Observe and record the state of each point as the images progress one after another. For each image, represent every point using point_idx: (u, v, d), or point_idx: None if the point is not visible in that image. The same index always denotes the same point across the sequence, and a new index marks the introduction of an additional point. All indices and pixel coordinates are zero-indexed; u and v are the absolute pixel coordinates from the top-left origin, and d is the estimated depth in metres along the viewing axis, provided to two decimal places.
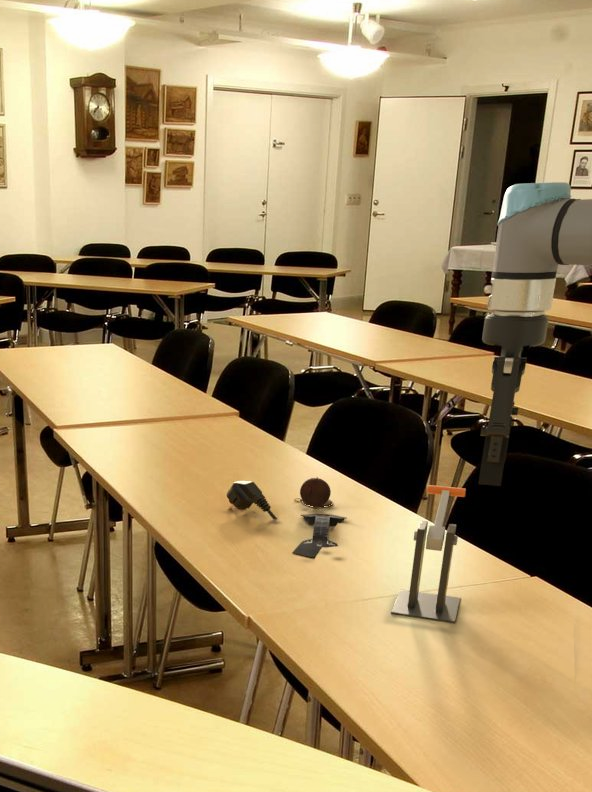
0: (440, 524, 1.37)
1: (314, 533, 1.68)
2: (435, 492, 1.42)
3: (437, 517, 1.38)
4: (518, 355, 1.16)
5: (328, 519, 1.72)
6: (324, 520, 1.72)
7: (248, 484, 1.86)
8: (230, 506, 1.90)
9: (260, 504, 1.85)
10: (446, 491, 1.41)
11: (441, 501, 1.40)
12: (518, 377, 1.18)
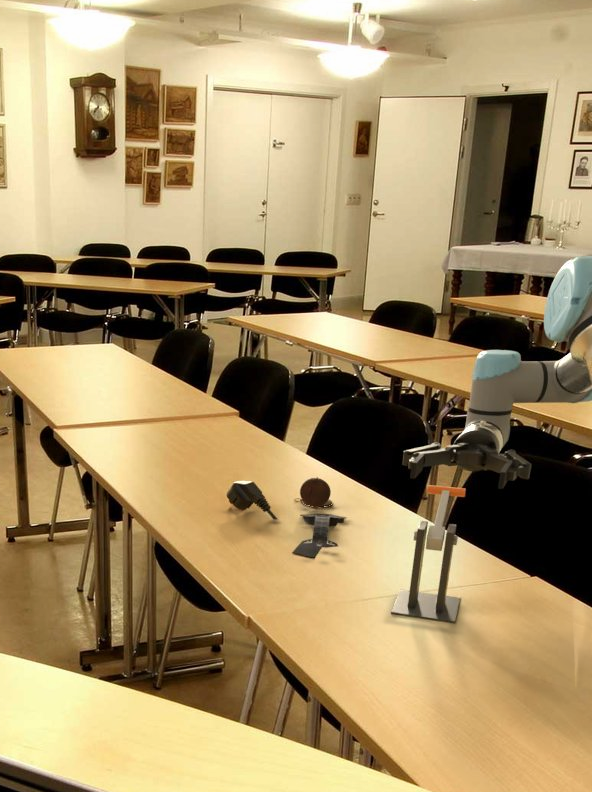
0: (440, 524, 1.37)
1: (314, 533, 1.68)
2: (435, 492, 1.42)
3: (437, 517, 1.38)
4: None
5: (328, 519, 1.72)
6: (323, 520, 1.72)
7: (248, 484, 1.86)
8: (230, 506, 1.90)
9: (260, 504, 1.85)
10: (446, 491, 1.41)
11: (441, 501, 1.40)
12: None
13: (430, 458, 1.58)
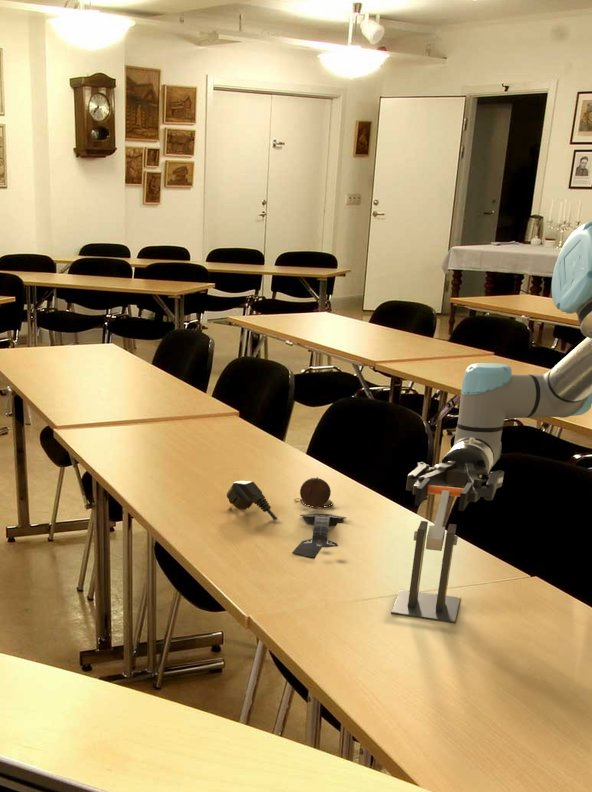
0: (440, 524, 1.37)
1: (314, 533, 1.68)
2: (435, 492, 1.42)
3: (437, 517, 1.38)
4: None
5: (328, 519, 1.72)
6: (323, 520, 1.72)
7: (248, 484, 1.86)
8: (230, 506, 1.90)
9: (260, 504, 1.85)
10: (446, 491, 1.41)
11: (441, 501, 1.40)
12: None
13: (432, 481, 1.47)
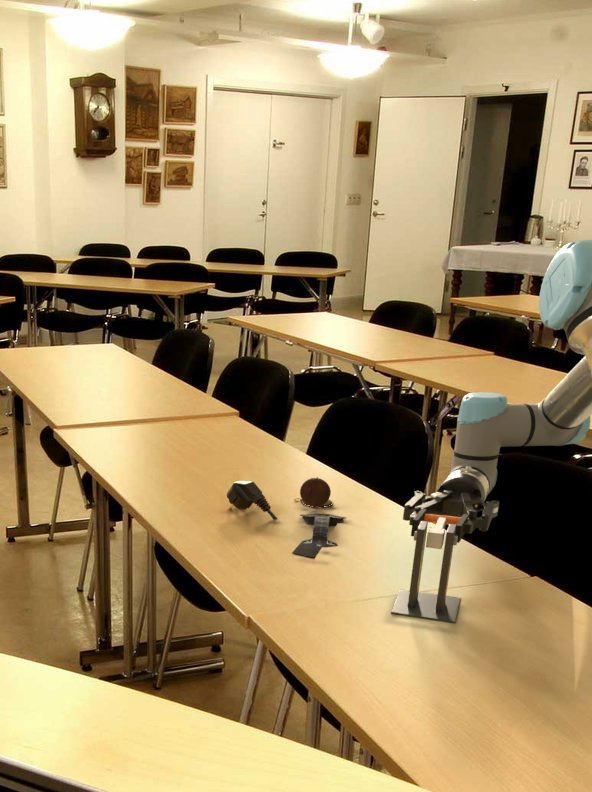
0: None
1: (314, 533, 1.68)
2: (432, 519, 1.45)
3: (436, 527, 1.39)
4: None
5: (328, 519, 1.72)
6: (323, 520, 1.72)
7: (248, 484, 1.86)
8: (230, 506, 1.90)
9: (260, 504, 1.85)
10: (442, 517, 1.44)
11: (439, 521, 1.42)
12: None
13: (428, 511, 1.49)
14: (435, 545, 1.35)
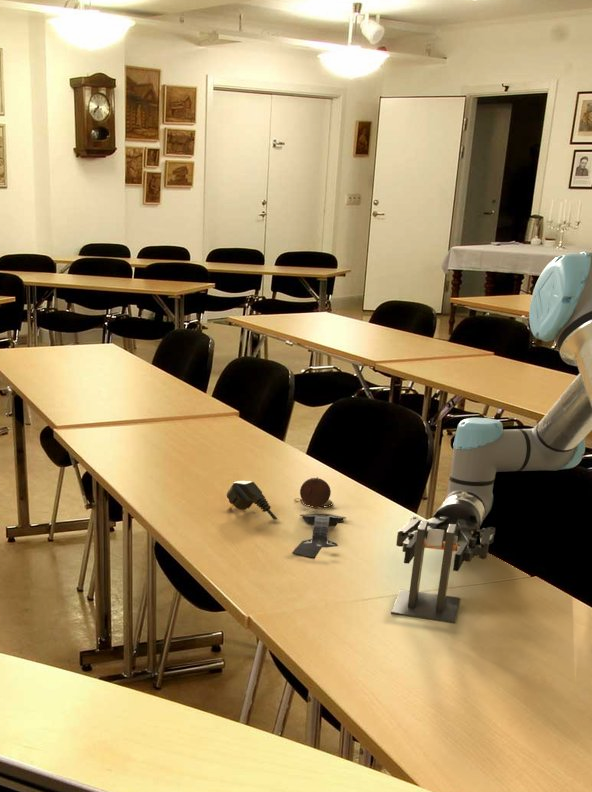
0: None
1: (314, 533, 1.68)
2: None
3: None
4: None
5: (328, 519, 1.72)
6: (323, 520, 1.72)
7: (248, 484, 1.86)
8: (230, 506, 1.90)
9: (260, 504, 1.85)
10: None
11: None
12: None
13: None
14: (435, 542, 1.34)
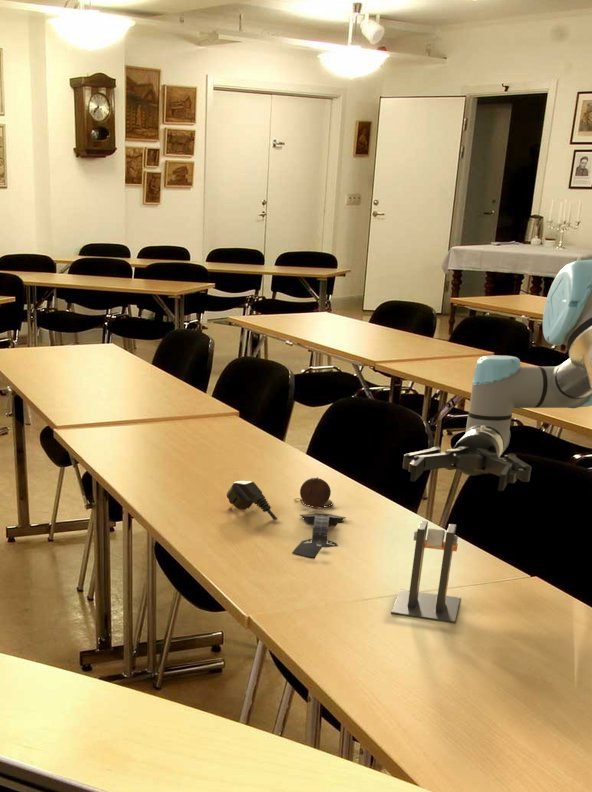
0: None
1: (314, 533, 1.68)
2: None
3: None
4: None
5: (327, 519, 1.72)
6: (323, 519, 1.72)
7: (248, 484, 1.86)
8: (230, 506, 1.90)
9: (260, 504, 1.85)
10: None
11: None
12: None
13: (430, 461, 1.58)
14: (435, 542, 1.34)
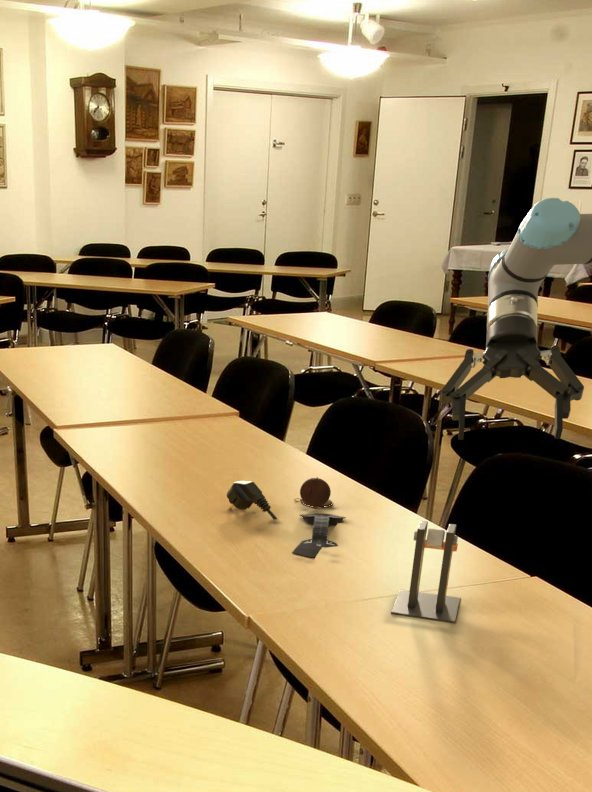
0: None
1: (314, 533, 1.68)
2: None
3: None
4: None
5: (327, 519, 1.72)
6: (323, 519, 1.72)
7: (248, 484, 1.86)
8: (230, 506, 1.90)
9: (260, 504, 1.85)
10: None
11: None
12: None
13: (470, 390, 1.46)
14: (435, 542, 1.34)
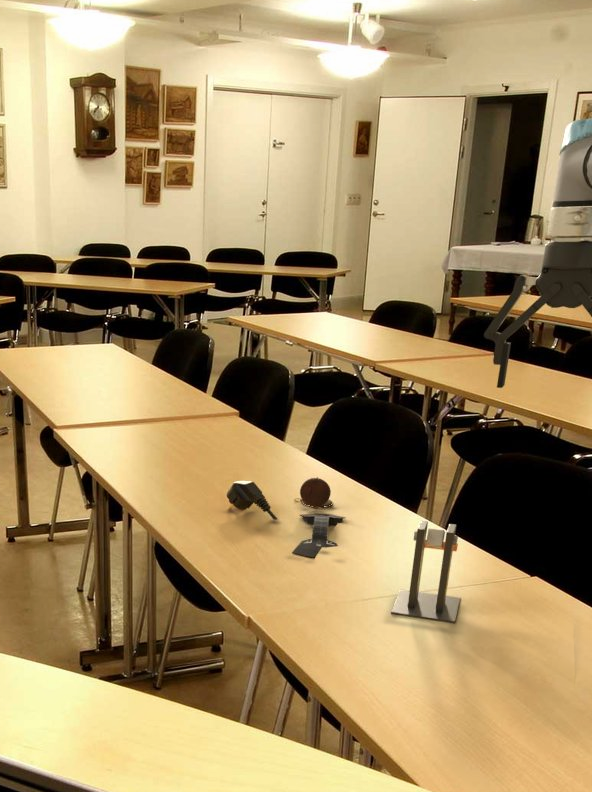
0: None
1: (314, 533, 1.68)
2: None
3: None
4: None
5: (327, 519, 1.72)
6: (323, 519, 1.72)
7: (248, 484, 1.86)
8: (230, 506, 1.90)
9: (260, 504, 1.85)
10: None
11: None
12: (590, 296, 1.32)
13: None
14: (435, 542, 1.34)
